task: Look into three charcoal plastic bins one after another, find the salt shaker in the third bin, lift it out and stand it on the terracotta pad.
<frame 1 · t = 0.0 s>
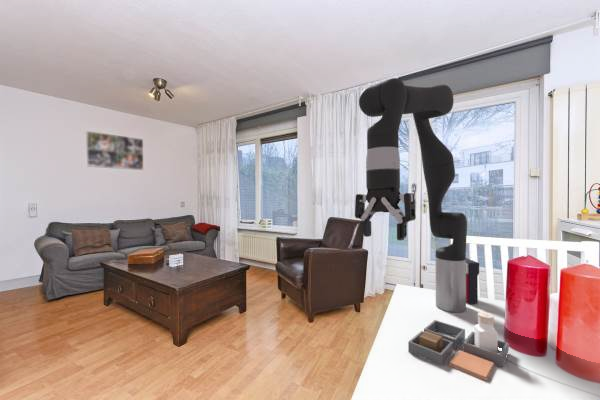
hand: (383, 238, 62), 29 cm above the table, tool pointing down, fingers open, 8 cm apart
empty bin: (444, 338, 73), on the table
walnut cube: (430, 352, 66), resting in bin with cube
terracotta pad: (471, 365, 61), on the table
bin with cube: (430, 351, 66), on the table
salt shaker: (485, 353, 66), resting in shaker bin
shaker bin: (485, 352, 66), on the table
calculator: (464, 299, 100), on the table
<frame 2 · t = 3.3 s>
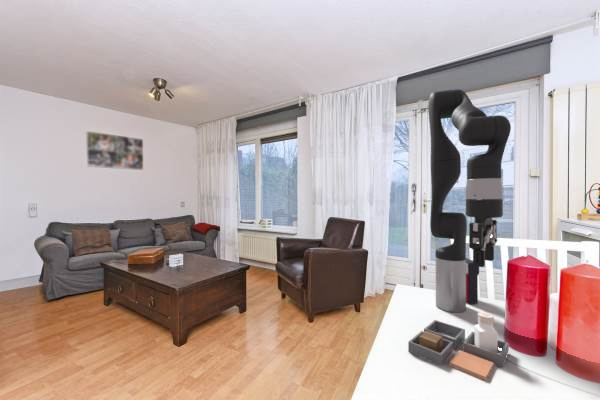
hand: (483, 263, 66), 22 cm above the table, tool pointing down, fingers open, 8 cm apart
nothing on the table moved.
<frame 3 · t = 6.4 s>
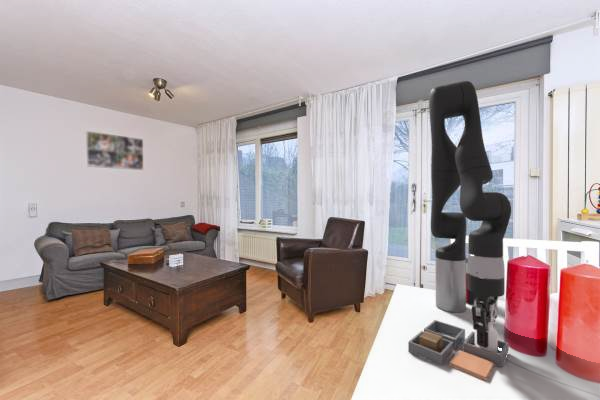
hand: (485, 341, 66), 3 cm above the table, tool pointing down, fingers closed on salt shaker, 5 cm apart
salt shaker: (485, 353, 66), resting in shaker bin, touching gripper
everything else where it was.
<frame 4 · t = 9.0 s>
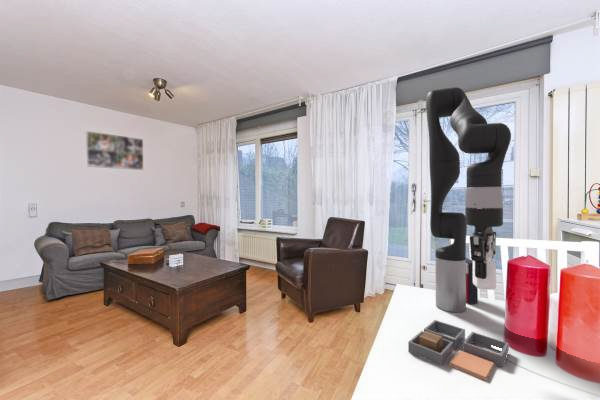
hand: (483, 275, 65), 20 cm above the table, tool pointing down, fingers closed on salt shaker, 5 cm apart
salt shaker: (483, 288, 65), point 16 cm above the table, touching gripper
everything else where it was.
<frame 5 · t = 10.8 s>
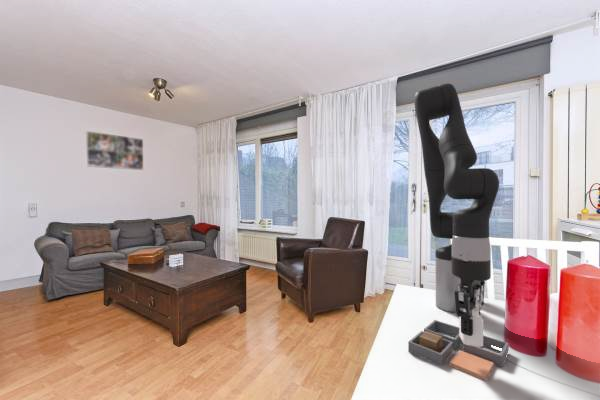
hand: (470, 329, 61), 8 cm above the table, tool pointing down, fingers closed on salt shaker, 5 cm apart
salt shaker: (470, 343, 61), point 5 cm above the table, touching gripper
everything else where it was.
when the fingers open (5 cm above the table, at t = 11.9 s): salt shaker drops 1 cm, resting on terracotta pad.
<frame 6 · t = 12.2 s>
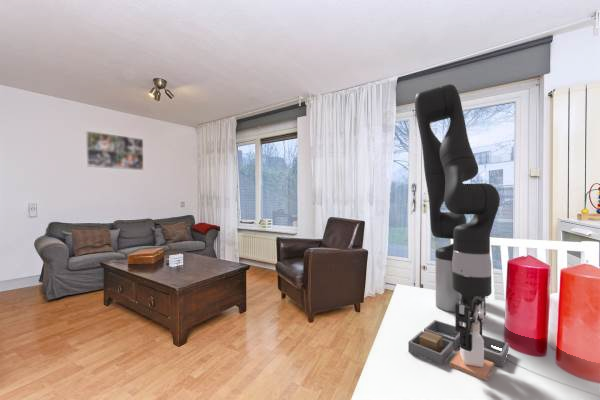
hand: (471, 342, 61), 5 cm above the table, tool pointing down, fingers open, 7 cm apart
salt shaker: (471, 362, 61), point 1 cm above the table, touching terracotta pad
everything else where it was.
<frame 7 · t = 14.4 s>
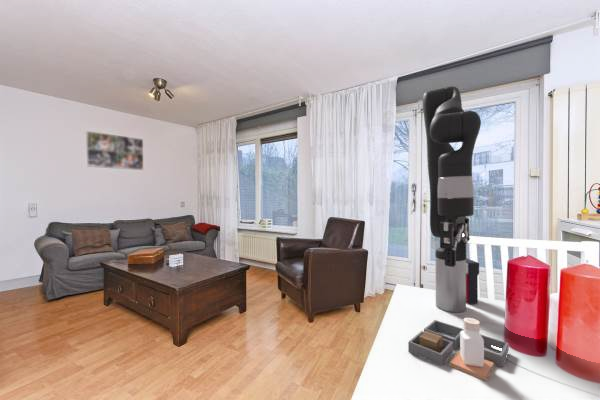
hand: (455, 262, 65), 23 cm above the table, tool pointing down, fingers open, 8 cm apart
nothing on the table moved.
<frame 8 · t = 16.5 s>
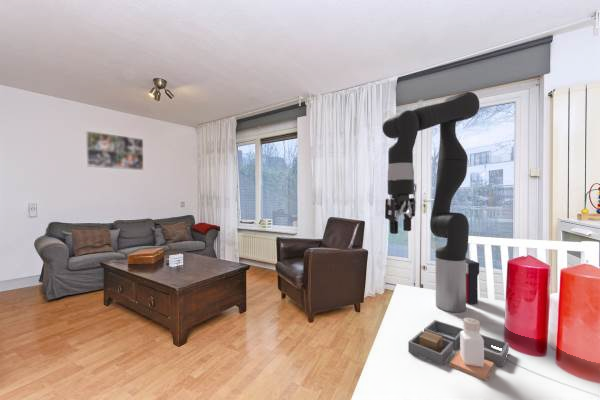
hand: (400, 232, 81), 28 cm above the table, tool pointing down, fingers open, 8 cm apart
nothing on the table moved.
at the end: salt shaker 0.2 cm off-centre on the terracotta pad, point 0.6 cm above the terracotta pad's base; salt shaker tilted 0°; the gripper is holding nothing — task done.
